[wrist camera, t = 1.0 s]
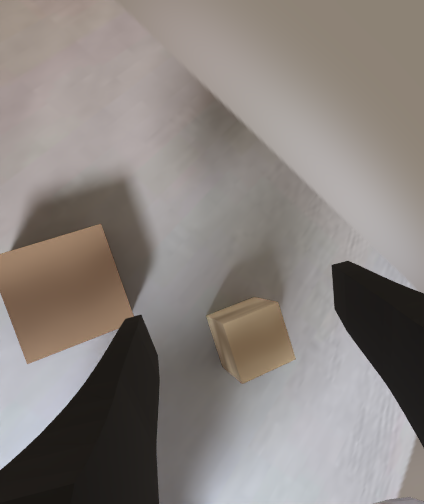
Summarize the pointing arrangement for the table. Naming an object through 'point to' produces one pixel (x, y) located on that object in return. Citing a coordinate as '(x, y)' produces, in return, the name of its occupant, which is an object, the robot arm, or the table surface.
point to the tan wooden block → (62, 292)
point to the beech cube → (251, 338)
